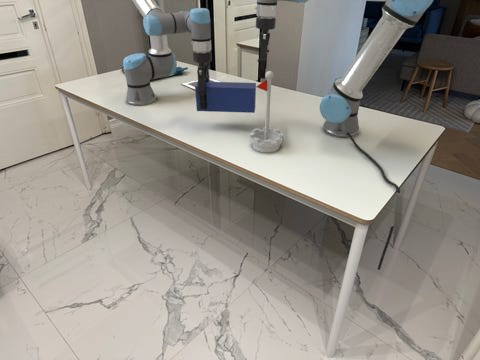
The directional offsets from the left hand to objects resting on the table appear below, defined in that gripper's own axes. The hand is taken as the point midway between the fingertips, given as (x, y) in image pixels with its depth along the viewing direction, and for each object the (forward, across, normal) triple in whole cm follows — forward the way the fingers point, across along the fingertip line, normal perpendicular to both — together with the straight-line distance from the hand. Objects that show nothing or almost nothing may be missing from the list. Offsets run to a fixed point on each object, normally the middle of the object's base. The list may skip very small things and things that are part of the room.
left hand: (205, 105), depth 150 cm
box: (+1, 0, +9) cm, 9 cm away
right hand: (-14, 0, +25) cm, 29 cm away
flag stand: (+10, +18, +28) cm, 35 cm away
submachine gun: (+10, -79, -44) cm, 91 cm away
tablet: (+10, -54, -6) cm, 56 cm away
